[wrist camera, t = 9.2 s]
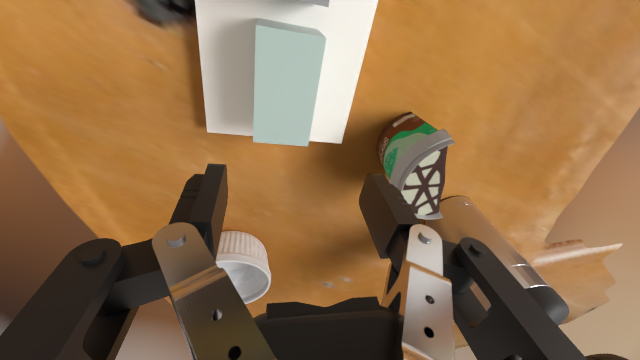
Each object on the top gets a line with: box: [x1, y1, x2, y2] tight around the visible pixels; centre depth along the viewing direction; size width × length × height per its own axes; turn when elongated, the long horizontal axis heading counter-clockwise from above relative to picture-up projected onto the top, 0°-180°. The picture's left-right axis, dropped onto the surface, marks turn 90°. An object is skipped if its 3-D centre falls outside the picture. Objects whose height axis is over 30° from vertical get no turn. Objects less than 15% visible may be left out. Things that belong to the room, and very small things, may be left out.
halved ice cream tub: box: [377, 112, 455, 220], centre depth 32 cm, size 12×6×10 cm, turn 12°
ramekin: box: [216, 231, 271, 304], centre depth 42 cm, size 13×13×7 cm
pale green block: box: [253, 18, 326, 146], centre depth 24 cm, size 10×6×5 cm, turn 170°
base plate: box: [195, 0, 378, 144], centre depth 22 cm, size 24×16×7 cm, turn 170°
